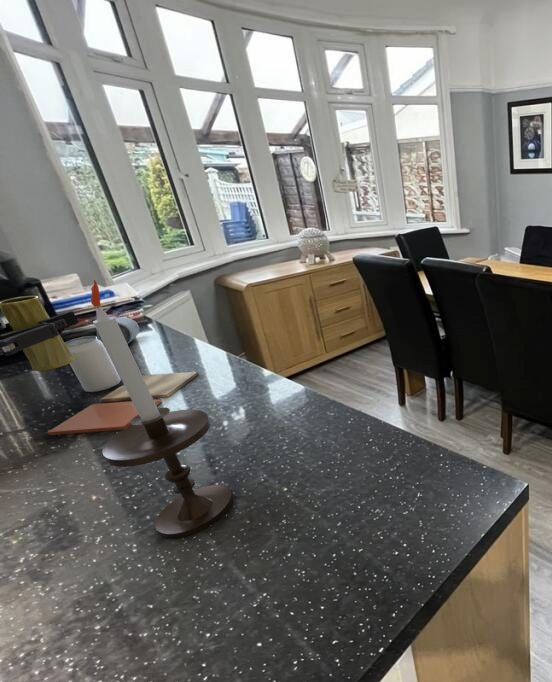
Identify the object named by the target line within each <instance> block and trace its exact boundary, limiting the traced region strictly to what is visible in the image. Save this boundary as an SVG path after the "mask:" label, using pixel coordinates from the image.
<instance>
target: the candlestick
mask: <svg viewBox="0 0 552 682" xmlns="http://www.w3.org/2000/svg"><path fill="white" fill-rule="evenodd" d="M90 290H91V296H90V302H91V303H90V304H91V305H92V306H93V307H95V313H96V319H95V320H93V321H92V323H93V325H94V328H95V330H96V332H97V331H98V333H99V335H100V337H101V339H102V341H103V343H104V344H103V345H104V347H105V349H106V351H107V353H108V355H109V357H110V359H111V361H112V363H113V365H114V367H115V369H116V371H117V373H118V375H119V377H120V379H121V382H122V383H123V385H124V386H125V388H126V390H127V392H128V394H129V396H130V398H131V400H130V401H132V402H133V404H134V406H135V408H136V410H137V412H138V414H139V415H137V416H135V417H134V418H133V419H132V420H131V421H130V423H131V424H132V425H131V426H129V427H128V428H126V429H124V430H120V431H119V432H118V433H117V434H115V435H114V436H112V437H111V438H110V439H109V440H108V441H107V442H106V443H105V444H104V446H103V447H102V451H101V452H102V454H103V457H104V459H105V460H106V462H107V464H109V465H111V466H114V467H119V468H128V467H136V466H141V465H147V464H151V463H154V462H157V461H160V460H163V461H164V462H165V464H166V467H167V468H168V470H167V472H165V474H164V479H165V480H166V481H167V482H170V483H172V484H174V486H173V488H172V490H173V492H174V494H180V496H178V497H177V498H175V499H174V500H172V501H171V502H170V503H169V504H167V505H166V506H165V507H164V508H163V509H162V510H161V511H160V512H159V514H158V515H157V517H156V519H155V521H154V527H155V529H156V531H157V533H158V535H159V536H161V537H162V538H164V539H171V540H172V539H181V538H185V537H188V536H192V535H195V534H197V533H199V532H202V531H203V530H206V529H207V528H209V527H210V526H213V524H215V523H216V522H217V521H219V520H220V519H222V517H223V516H224V515H226V513H227V512H228V511H229V509H230V508H231V507H232V504H233V502H234V497H233V494H232V490H231V489H230V488H229V487H227V486H225V485H221V484H212V485H211V484H210V485H206V486H202V487H198V488H195V489H193V488H194V486H195V485H196V481H195V480H194V479H193V478H189V476H190V474H191V467H190V466H189V465H187V464H181V461H180V460H179V458H178V455H177V454H178V453H179V452H181V451H184V450H185V449H187V448H189V447H191V446H192V445H194V444H195V443H197V442H198V441H199V440H201V439H202V438H203V437H204V436H205V435H206V433H207V432H208V431H209V430H210V428H211V420H210V417H209V415H208V414H207V413H206V412H205V411H203V410H200V409H188V408H187V409H179V410H172V411H171V410H170V409H171V408H168V407H158V405H157V406H156V404H155V402H154V400H155V399H154V398H152V396H151V394H150V392H149V389H148V387H147V385H146V383H145V381H144V379H143V377H142V372H141V370H140V368H139V366H138V364H137V362H136V359H135V358H134V355H133V353H132V351H131V350H130V347H129V344H127V342H126V340H125V338H124V336H123V334H122V332H121V330H120V328H119V325H118V323H117V321H116V319H115V318H116V317H115V316H109V314H108V313H106V311H104V309H103V308H102V307H101V305H102V304H101V294H100V288H99V286H98V282H97V280H95V279H93V285H92V287H91V289H90Z"/></svg>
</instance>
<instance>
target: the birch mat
mask: <svg viewBox="0 0 552 682" xmlns="http://www.w3.org/2000/svg"><path fill="white" fill-rule="evenodd" d="M198 375H199V371H186V372H171V373H156V374H143V375H142V377H143V379H144V381H145V383H146V385H147V387H148V389H149V392H150V394H151V396H152V398H153V399H164V398H165V399H166V398H170V397H171V396H172V395H173V394H174V393H176V392H177V391H179V390H180V389H181V388H183V387H184V386H185V385H187V384H188V383H189V382H191V381H192V380H193V379H195V378H196V377H197V376H198ZM100 401H101V402H102V403H111V402H125V401H132V400H131V398H130V396H129V394H128V392H127V390H126V388H125V386H124V384H123V385H120V386H119V387H117V388H116V389H115V390H113V391H111V392H109V393H108V394H107V395H105V396H103V397H102V398H100Z"/></svg>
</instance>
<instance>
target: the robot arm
mask: <svg viewBox="0 0 552 682" xmlns="http://www.w3.org/2000/svg"><path fill="white" fill-rule="evenodd" d="M38 323H39V324H37V325H33V326H30V327H26V328H23V329H19V330H16V331H13V329H12V328H11V326H10V324H9V322H6V323H5V324H3V323H2V322H1V321H0V355H1V354H3V356H4V357H10V356H13V355H14V354H16V353H18V352H20V351H23V349H25V348H27V347H30V346H32V345H35V344H38V343H40V342H43V341H45V340H48V339H50V338H51V339H53V338H55V337H56V336H58V335H60V333H59V332H60V331H63V330H65V329H67V328H70V327H72V326H75V325H78V324H79V323H80V321H79V320H78V318H77V316H76V314H75V313H74V311H73V310H69V311H66V312H63V313H60V314H58V315H55V316H51V317H50V318H49V319H46V320H43V321H40V322H38Z"/></svg>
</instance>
